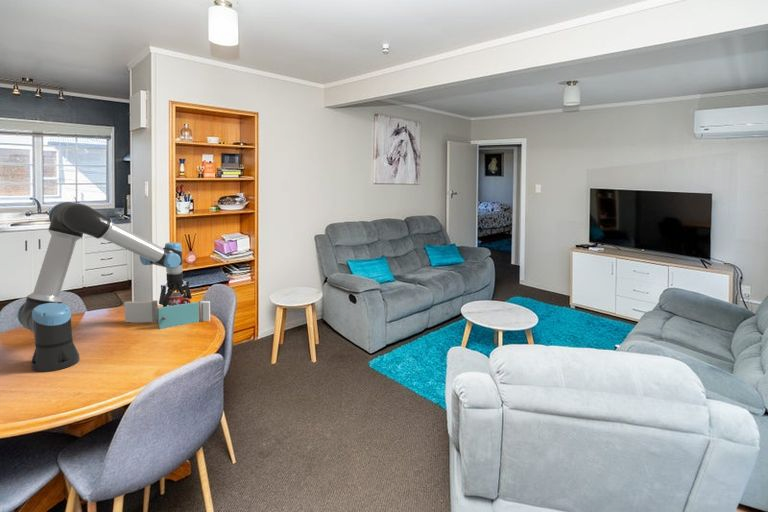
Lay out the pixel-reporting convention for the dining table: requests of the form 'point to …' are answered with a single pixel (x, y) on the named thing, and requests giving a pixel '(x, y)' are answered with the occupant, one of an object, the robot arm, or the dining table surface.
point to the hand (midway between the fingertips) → (176, 314)
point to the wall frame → (150, 311)
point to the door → (178, 315)
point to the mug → (176, 299)
